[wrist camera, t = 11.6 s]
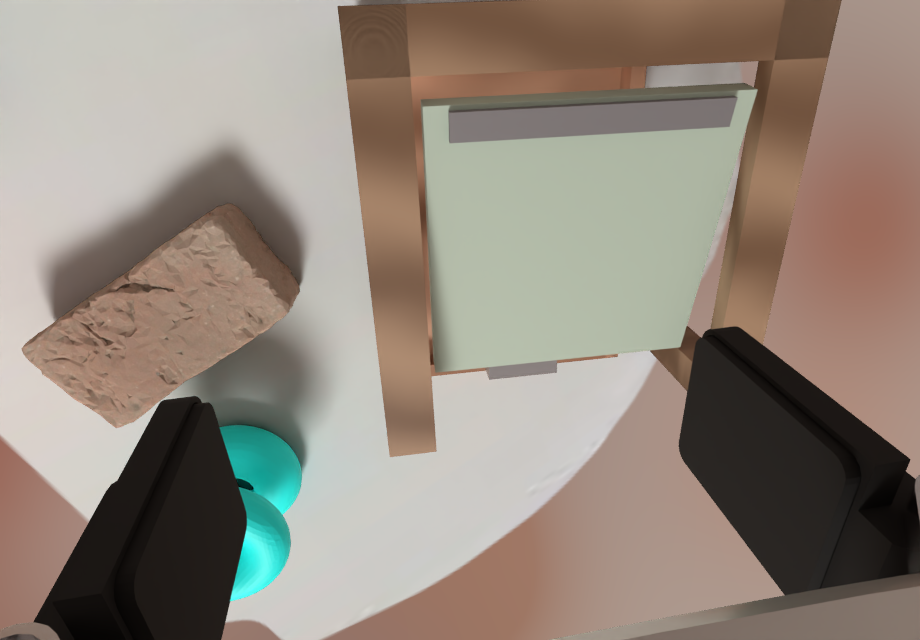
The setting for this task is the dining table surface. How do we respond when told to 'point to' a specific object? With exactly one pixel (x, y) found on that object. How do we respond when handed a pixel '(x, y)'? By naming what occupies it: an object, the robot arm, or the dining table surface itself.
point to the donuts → (262, 503)
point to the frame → (551, 71)
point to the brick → (167, 318)
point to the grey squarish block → (522, 369)
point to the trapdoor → (573, 218)
